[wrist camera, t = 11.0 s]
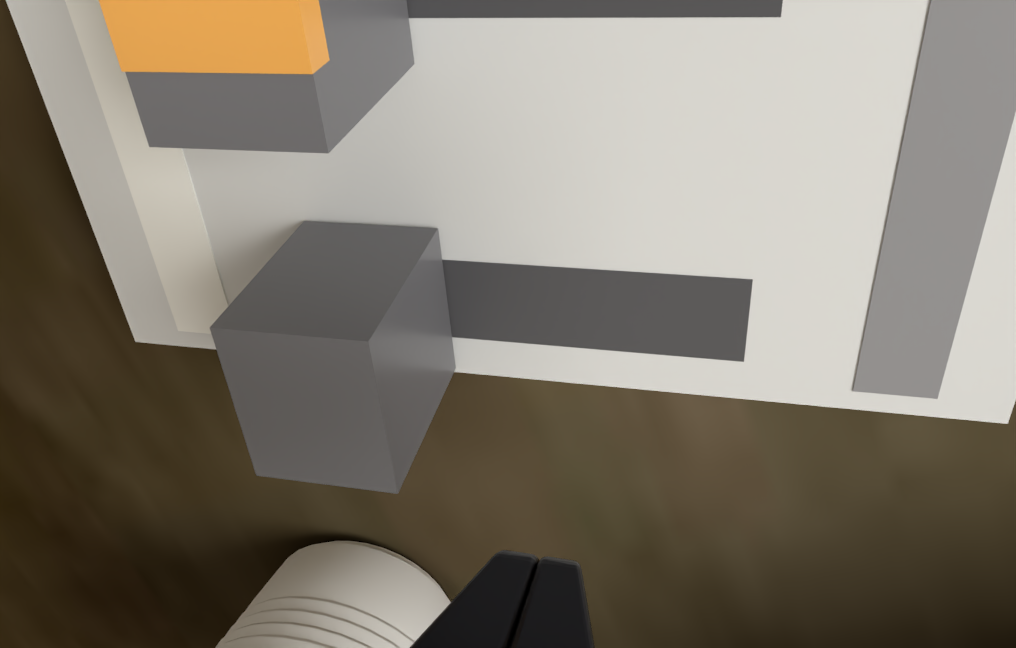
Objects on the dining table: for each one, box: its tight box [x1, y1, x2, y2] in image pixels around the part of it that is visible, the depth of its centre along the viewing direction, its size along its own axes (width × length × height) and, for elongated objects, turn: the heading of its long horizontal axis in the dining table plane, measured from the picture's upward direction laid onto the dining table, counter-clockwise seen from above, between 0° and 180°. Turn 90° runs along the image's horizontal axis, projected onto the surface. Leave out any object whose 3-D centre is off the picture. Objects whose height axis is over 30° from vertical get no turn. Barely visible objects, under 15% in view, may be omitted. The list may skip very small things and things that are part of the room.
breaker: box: [210, 221, 456, 494], centre depth 18 cm, size 3×4×4 cm
